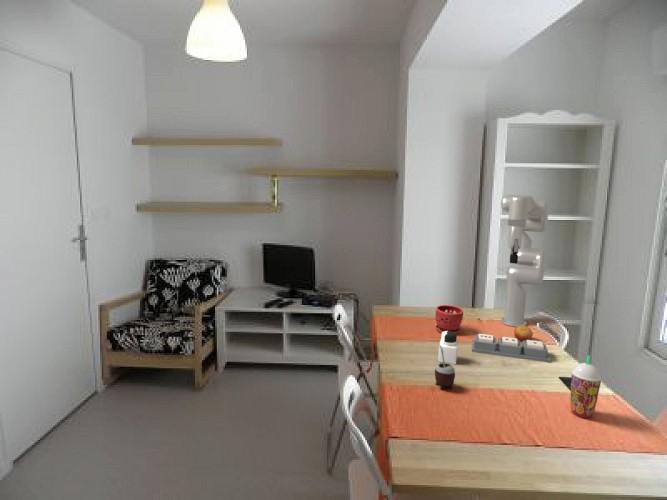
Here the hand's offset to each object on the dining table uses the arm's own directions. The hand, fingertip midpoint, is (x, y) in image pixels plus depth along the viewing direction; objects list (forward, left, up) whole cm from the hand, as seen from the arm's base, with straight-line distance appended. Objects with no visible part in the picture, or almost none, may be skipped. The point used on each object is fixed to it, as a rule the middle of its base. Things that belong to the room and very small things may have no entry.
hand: (513, 263), depth 192 cm
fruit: (-1, +7, -37) cm, 38 cm away
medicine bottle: (+34, -25, -37) cm, 56 cm away
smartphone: (+42, +21, -38) cm, 60 cm away
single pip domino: (+16, +10, -35) cm, 40 cm away
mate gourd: (+58, -25, -37) cm, 73 cm away
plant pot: (0, -27, -37) cm, 46 cm away
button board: (+16, 0, -37) cm, 40 cm away
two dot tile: (+16, 0, -35) cm, 39 cm away
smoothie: (+61, +19, -37) cm, 74 cm away
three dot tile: (+16, -10, -35) cm, 40 cm away
